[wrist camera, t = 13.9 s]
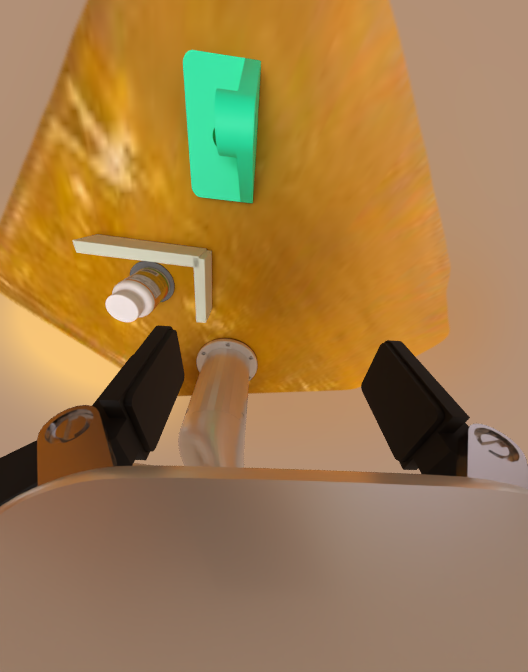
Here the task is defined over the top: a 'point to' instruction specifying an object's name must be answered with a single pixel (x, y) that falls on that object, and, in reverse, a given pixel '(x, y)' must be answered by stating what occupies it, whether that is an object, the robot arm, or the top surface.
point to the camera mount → (222, 124)
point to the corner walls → (159, 261)
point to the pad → (157, 266)
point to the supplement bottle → (137, 294)
